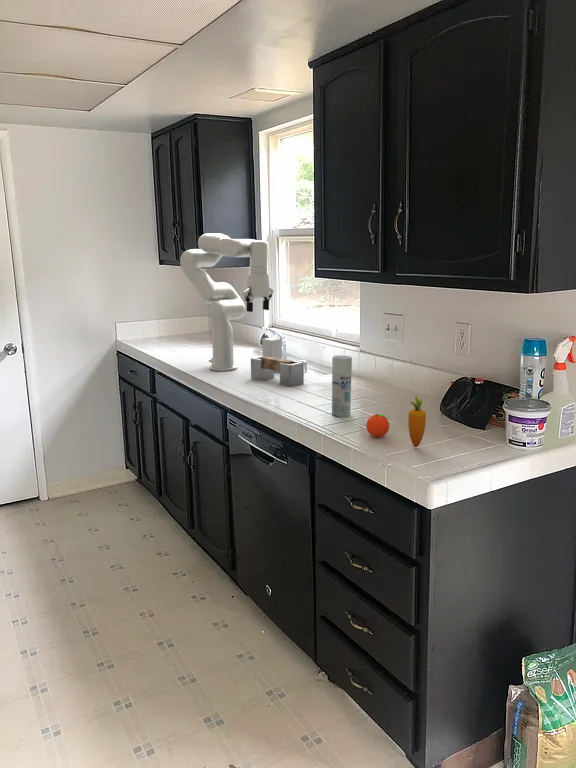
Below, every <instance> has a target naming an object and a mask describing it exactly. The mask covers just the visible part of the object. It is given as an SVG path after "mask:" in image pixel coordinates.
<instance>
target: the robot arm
mask: <svg viewBox="0 0 576 768" xmlns="http://www.w3.org/2000/svg"><path fill="white" fill-rule="evenodd" d="M197 245H198V248H193V249H187V250H185V251H184V252H182V254H181V255H180V259H179V260H180V261H179V262H180V267H181V270H182V272H183V274H184V276H185V277H186V279H187V280H188V281H189V282H190V283H191V284H192V285H193V287H194V288H195V290H196V291H197V292H198V295H199V296H200V297H201V298H202V300H203V301H204V302H205V303H206V304H208V305H209V304H210V306H209V309H208V313H209V318H210V322H211V337H212V340H211V341H212V342H211V343H212V357H211V358H210V359H208V363H211V365H209V369H210V370H212V371H214V372H215V371H216V372H229V371H234V370H237V369H238V365H236V364H234V362H235V361H234V330H233V327H232V325H231V322H230V321H233V320H234V321H235V320H240V319H242V318H244V317H245V315H246V312H249V313H252V312H254V302H253V300H254V299H257V298H263V299H262V300H263V301H262V310H265V311H270V301H271V298H273V293H274V290H273V289H272V288H271V287H270V278H269V277H270V276H269V273H268V272H269V267H268V266H269V263H268V261H269V242H268V241H266V240H256V239H253V238H231V237H230V236H229V235H225V234H224V233H216V232H215V233H209V232H208V233H204V234H202V235H201V236H199V238H198V241H197ZM223 256H224V257H231V258H249V273H248V274H247V279H246V284H245V285H246V286H245V290H243V291H242V296H243V299H244V301H245V302H246V304H245V303H244V301H243V300H242V298H241V296H240V295H239V294H238V292H237V291H236V290H235V288H234V287H233V286H232V285H231V284H230V283H228V282H224V281H223V282H215V281H214V280H213V279H212V278H211V277H210V275H209V274H208V272H206V271H204V270H203V269H202V268H212V267H214V266H215V265H216V264H217V263H218V262H219V261H220V260H221V259H222V257H223ZM245 305H246V306H245Z"/></svg>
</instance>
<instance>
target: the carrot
mask: <svg viewBox="0 0 576 768" xmlns="http://www.w3.org/2000/svg"><path fill="white" fill-rule="evenodd" d="M414 399H415V402H414V401H413V400H412V401H410V402H409V403H410V404H412V406H413V408H412V409H409V411H408V416H407V417H408V422H407V423H408V426H407V427H408V434H409V438H410V442H411V443H412V445H413V447H414V448H415V447H417V446H418V447H419V446H420V444H421V442H422V440H423V438H424V433H425V429H426V422H427V421H426V420H427V413H426V411H425V410H424V409H421V407H422V404H423V399H422V398H420V399H419V398H418V395H417V396H414ZM418 447H417V448H418Z"/></svg>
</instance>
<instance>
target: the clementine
mask: <svg viewBox="0 0 576 768" xmlns="http://www.w3.org/2000/svg"><path fill="white" fill-rule="evenodd" d="M388 418H389V419H388ZM389 420H392V419H391V417H389V416H388V415H385V414H379V413H377V414H376V413H375V414H373V415H371V416H370V417H369V418H368V419H367V421H366V425H365V427H366V431H367V432H368V434H369V435H370V436H372V437H374V438H383V437H384V436H386V435H387V434H388V432H389V431H390V421H389Z"/></svg>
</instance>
